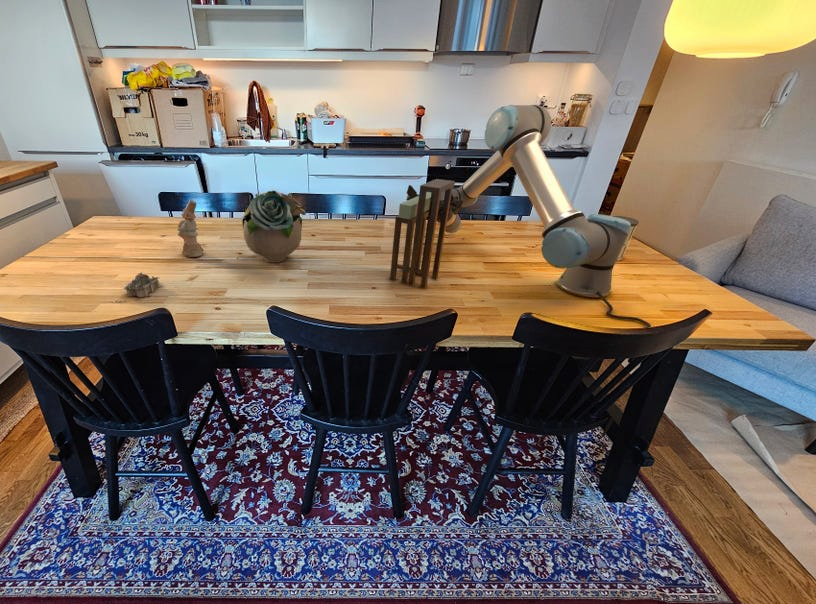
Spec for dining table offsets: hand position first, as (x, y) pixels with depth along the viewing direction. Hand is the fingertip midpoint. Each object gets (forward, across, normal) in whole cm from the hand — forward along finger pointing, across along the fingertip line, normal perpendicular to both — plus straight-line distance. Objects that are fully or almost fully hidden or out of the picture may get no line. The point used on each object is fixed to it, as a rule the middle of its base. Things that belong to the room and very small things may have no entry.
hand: (427, 191), depth 130 cm
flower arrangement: (+8, +48, -35) cm, 60 cm away
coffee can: (-61, -56, +5) cm, 83 cm away
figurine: (+20, +77, -42) cm, 90 cm away
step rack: (-5, -3, -27) cm, 28 cm away
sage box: (+2, 0, -7) cm, 8 cm away
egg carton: (+47, +64, -57) cm, 98 cm away
